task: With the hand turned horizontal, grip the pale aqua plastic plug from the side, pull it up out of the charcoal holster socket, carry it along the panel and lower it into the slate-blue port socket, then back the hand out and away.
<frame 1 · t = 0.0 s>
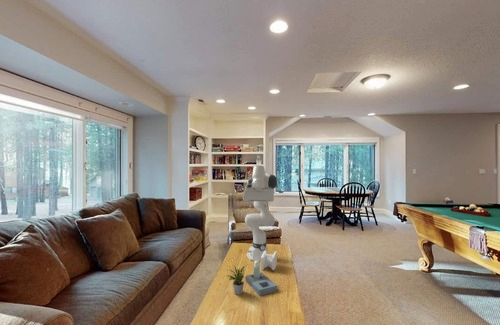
hand: (258, 207, 154), 54 cm above the table, tool tilted 30°, fingers open, 8 cm apart
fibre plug: (256, 281, 168), resting in socket panel
house plant: (238, 291, 155), on the table
cable organizer: (268, 268, 190), on the table
socket panel: (260, 285, 162), on the table
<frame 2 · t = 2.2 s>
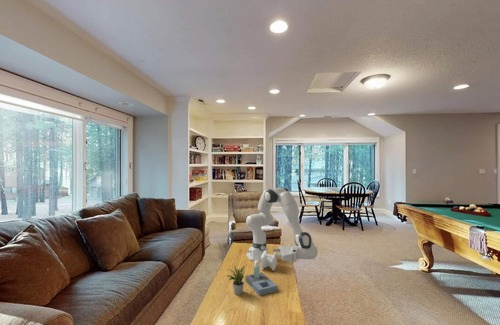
hand: (273, 252, 168), 20 cm above the table, tool horizontal, fingers open, 8 cm apart
nothing on the table moved.
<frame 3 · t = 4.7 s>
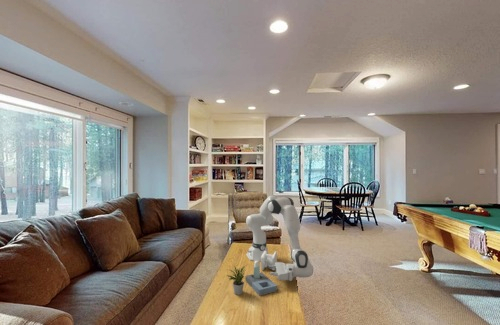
hand: (269, 270, 168), 8 cm above the table, tool horizontal, fingers open, 8 cm apart
nothing on the table moved.
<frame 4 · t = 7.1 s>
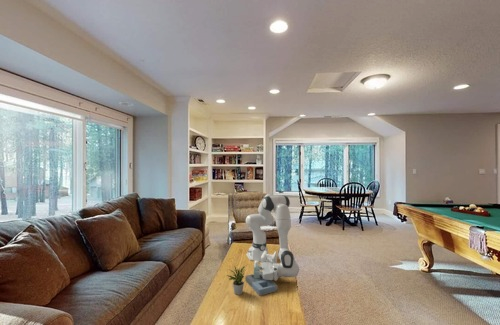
hand: (255, 270, 168), 8 cm above the table, tool horizontal, fingers closed on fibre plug, 4 cm apart
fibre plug: (256, 281, 168), resting in socket panel, touching gripper
everything else where it was.
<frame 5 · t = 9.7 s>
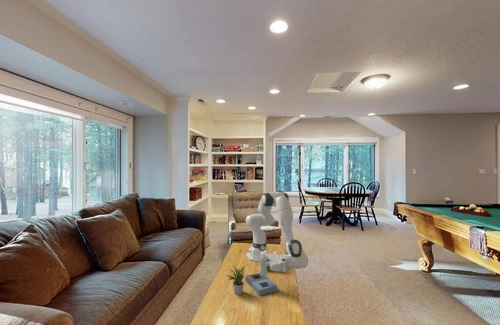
hand: (262, 261, 159), 18 cm above the table, tool horizontal, fingers closed on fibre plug, 4 cm apart
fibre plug: (263, 273, 159), point 10 cm above the table, touching gripper
everything else where it was.
when the fingers open (9 cm above the table, at t = 12.2 s): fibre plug stays where it is, resting in socket panel.
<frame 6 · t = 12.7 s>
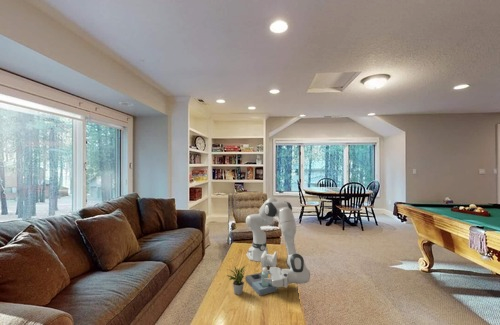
hand: (263, 276, 157), 9 cm above the table, tool horizontal, fingers open, 8 cm apart
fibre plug: (264, 289, 157), resting in socket panel
everything else where it was.
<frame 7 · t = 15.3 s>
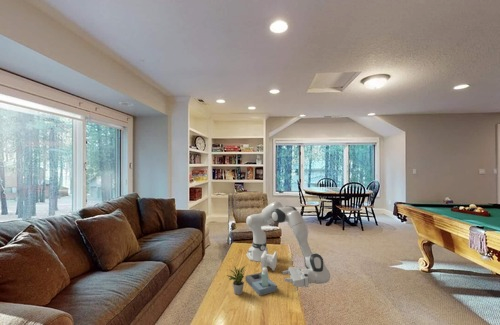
hand: (283, 276, 157), 9 cm above the table, tool horizontal, fingers open, 8 cm apart
nothing on the table moved.
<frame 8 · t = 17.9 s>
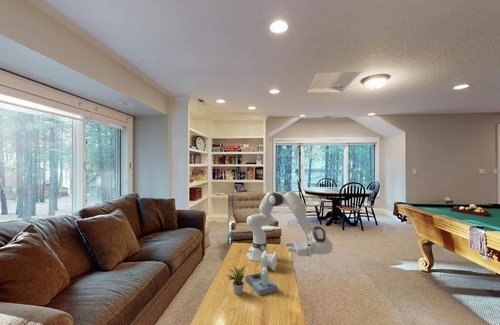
hand: (287, 247, 163), 26 cm above the table, tool horizontal, fingers open, 8 cm apart
nothing on the table moved.
at the end: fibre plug 0.1 cm from the target spot on the socket panel, point 0.0 cm above the socket panel's base; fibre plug tilted 0°; the gripper is holding nothing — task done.
